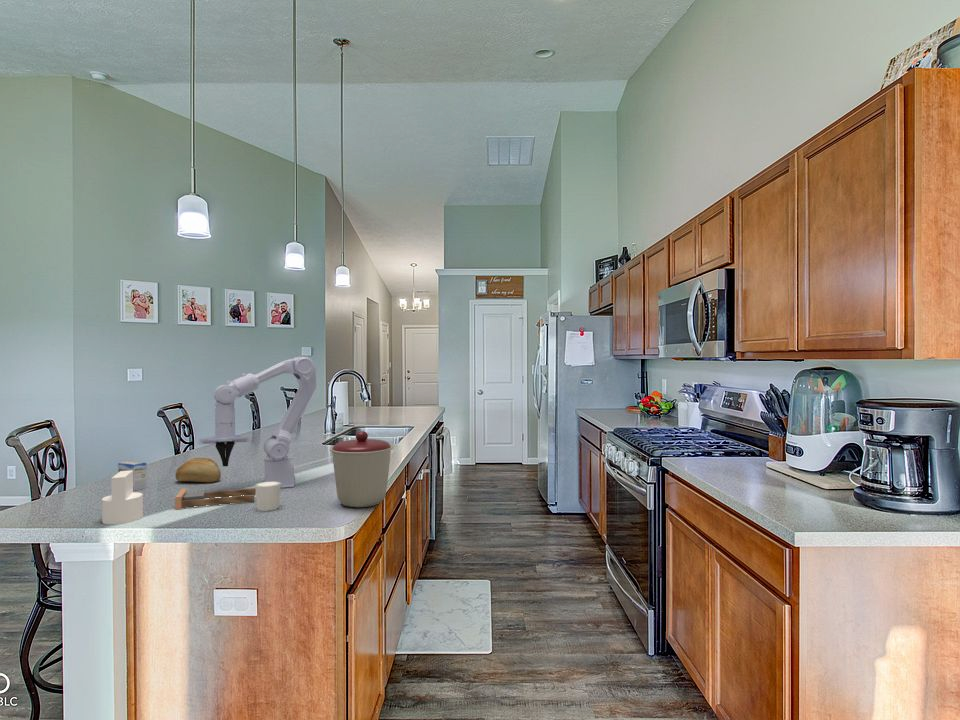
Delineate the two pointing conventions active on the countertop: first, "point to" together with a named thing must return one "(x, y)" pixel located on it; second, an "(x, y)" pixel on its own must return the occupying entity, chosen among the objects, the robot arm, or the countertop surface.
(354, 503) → the canister
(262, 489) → the white cylinder
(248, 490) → the rail lane
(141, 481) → the medicine box
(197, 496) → the block
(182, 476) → the bread roll
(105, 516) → the base with upright slab
